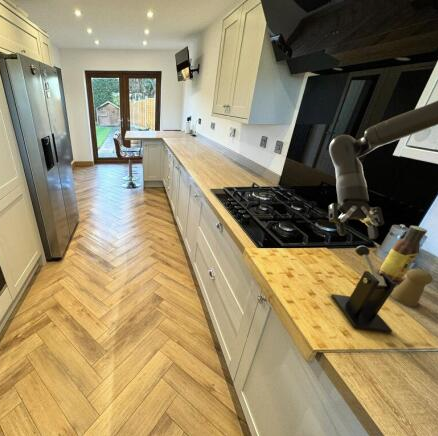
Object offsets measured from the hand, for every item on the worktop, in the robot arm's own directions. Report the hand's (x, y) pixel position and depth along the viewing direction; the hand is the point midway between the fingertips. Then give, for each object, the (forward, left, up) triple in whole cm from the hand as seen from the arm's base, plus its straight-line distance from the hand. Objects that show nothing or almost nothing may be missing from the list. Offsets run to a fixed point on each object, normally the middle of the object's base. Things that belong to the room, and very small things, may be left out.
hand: (358, 236), depth 73 cm
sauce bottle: (-21, -13, -19) cm, 31 cm away
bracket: (-2, +13, -19) cm, 23 cm away
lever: (-1, +8, -6) cm, 10 cm away
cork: (-19, 0, -19) cm, 27 cm away
